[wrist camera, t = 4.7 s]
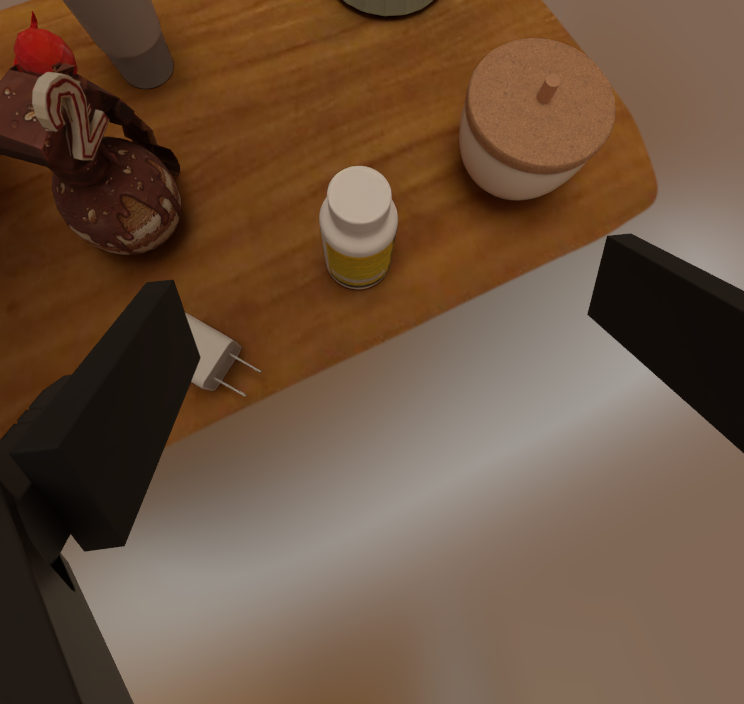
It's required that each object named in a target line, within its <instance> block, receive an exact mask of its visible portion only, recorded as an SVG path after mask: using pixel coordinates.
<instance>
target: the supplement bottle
mask: <svg viewBox="0 0 744 704" xmlns="http://www.w3.org/2000/svg"><path fill="white" fill-rule="evenodd" d="M391 197H392V196H391V189H390V186H389V183H388V182H387V180H386V179H385V177H384V176H383V175H382V174H380V173H379V172H378V171H376V170H374V169H372V168H369V167H365V166H353V167H349V168H346V169H344V170H342V171H340V172H339V173H338V174H336V175H335V177H334V178H333V179H332V180H331V182H330V184H329V187H328V191H327V197H326V199H325V200H324V202H323V204H322V207H321V210H320V217H319V219H320V230H321V236H322V242H323V248H324V255H325V261H326V265H327V269H328V271H329V273H330V275H331V276H332V277H333V279H334V280H335V281H337V282H338V283H339V284H341V285H343V286H345V287H347V288H351V289H366V288H369V287H372V286H374V285H375V284H377V283H378V282H380V281H381V280H382V279H383V278H384V276H385V275H386V273H387V271H388V269H389V266H390V262H391V257H392V252H393V247H394V241H395V237H396V232H397V224H398V215H397V210H396V207H395V205H394V202H393V201H392V199H391Z"/></svg>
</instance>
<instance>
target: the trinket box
mask: <svg viewBox="0 0 744 704" xmlns="http://www.w3.org/2000/svg"><path fill="white" fill-rule="evenodd" d="M614 120H615V100H614V95H613V92H612V89H611V86H610V84H609V82H608V80H607V78H606V77H605V75H604V74H603V72H602V71H601V70H600V68H599V67H598V66H597V65H596V64H595V63H594V62H593V61H592V60H591V59H590V58H588V57H587V56H586V55H585V54H583V53H582V52H580V51H579V50H577V49H575V48H573V47H571V46H569V45H566V44H564V43H561V42H558V41H554V40H548V39H540V38H528V39H520V40H515V41H511V42H509V43H506V44H504V45H501V46H500V47H498V48H496V49H494V50H493V51H491V52H490V53H489V54H488V55H486V56H485V57H484V58H483V59H482V60H481V61H480V63H479V64H478V65H477V67H476V68H475V70H474V72H473V74H472V76H471V79H470V82H469V85H468V88H467V93H466V99H465V103H464V106H463V110H462V115H461V121H460V128H459V147H460V153H461V157H462V161H463V163H464V166H465V168H466V170H467V172H468V173H469V175H470V177H471V178H472V179H473V180H474V182H475V183H476V184H477V185H478V186H479V187H480V188H482V189H483V190H485V191H486V192H488V193H490V194H492V195H494V196H496V197H499V198H502V199H507V200H529V199H533V198H537V197H540V196H542V195H545V194H547V193H549V192H552V191H553V190H555V189H556V188H558V187H559V186H561V185H562V184H564V183H565V182H566V181H568V180H569V179H570V178H571V177H572V176H573V175H574V174H575V173H577V172H578V171H579V170H580V169H581V168H582V167H583V165H584V164H585V163H586V162H587V161H588V160H589V159H590V158H591V157H592V156H593V155H595V154H596V153H597V152H598V150H599V149H600V148H601V147H602V145H603V144H604V143H605V141H606V140H607V139H608V137H609V135H610V133H611V131H612V128H613V124H614Z"/></svg>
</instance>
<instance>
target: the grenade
mask: <svg viewBox="0 0 744 704" xmlns="http://www.w3.org/2000/svg"><path fill="white" fill-rule="evenodd" d="M37 28H38V26H37V19H36V17H35V14H34V13H33V11H32V18H31V26H30V28H28V29H26V30H24V31H22V32H20V33H18V36H17V39H16V42H15V45H14V52H15V55H16V57H15V61H14V64H13V66H12V67H11V68H10V69H9V70H8V71H7V73H6V74H5V75H4V77H3V78H2V80H1V81H0V154H1V155H5V156H8V157H12V158H16V159H20V160H24V161H27V162H31V163H35V164H39V165H42V166H46V167H48V168H49V169H50V170H51V171H52V172H54V174H53V178H52V191H53V195H54V199H55V203H56V206H57V209H58V211H59V212H60V214H61V216H62V217H63V219H64V220H65V222H66V223H67V225H68V226H69V227H70V228H71V229H72V230H73V231H74V232H75V233H76V234H78V235H79V236H80V237H81V238H83V239H84V240H85V241H87V242H88V243H90V244H91V245H93V246H95V247H98V248H100V249H102V250H105V251H108V252H110V253H114V254H121V255H133V254H143V253H146V252H149V251H152V250H155V249H156V248H158V247H159V246H161V245H163V244H164V243H165V242H166V241H167V240H168V239H169V238H170V237H171V236H172V235H173V233H174V231H175V229H176V228H177V226H178V223H179V219H180V215H181V211H182V209H181V197H180V194H179V191H178V188H177V186H176V183H175V180H174V179H173V177H172V176H176V177H178V176H179V174H180V165H179V163H178V160H177V158H176V157H175V155H174V154H173V152H172V151H171V150H170V149H167V148H164V147H162V146H159V145H158V144H157V141H156V139H155V136H154V133H153V130H152V129H151V128H150V127H149V126H148V125H147V124H146V123H144V122H143V121H142V120H141V119H140V118H138V117H137V116H136V115H135V114H134V111H133V110H132V109H131V108H130V107H129V106H128V105H126V104H125V103H124V102H123V101H122V100H121V99H119V98H118V97H116V96H114V95H113V94H111V93H109V92H107V91H106V90H104V89H102V88H100V87H99V86H97V85H95V84H93V83H92V82H90V81H88V80H86V79H85V78H83V77H81V76H80V75H78V74H76V73H77V65H76V61H75V57H74V55H73V53H72V51H71V49H70V48H69V47H68V46H67V45H66V43H65V42H64V41H63V40H62V39H61V38H60V37H58V36H57V35H55V34H53V33H51V32H49V31H47V30H44V29H37ZM109 122H111V123H115V124H118V125H122V128H123V131H124V135H125V137H128V138H130V139H132V142H130V141H128V140H124V139H121V138H114V137H103V135H104V132H105V130H106V127H107V125H108V123H109Z"/></svg>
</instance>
